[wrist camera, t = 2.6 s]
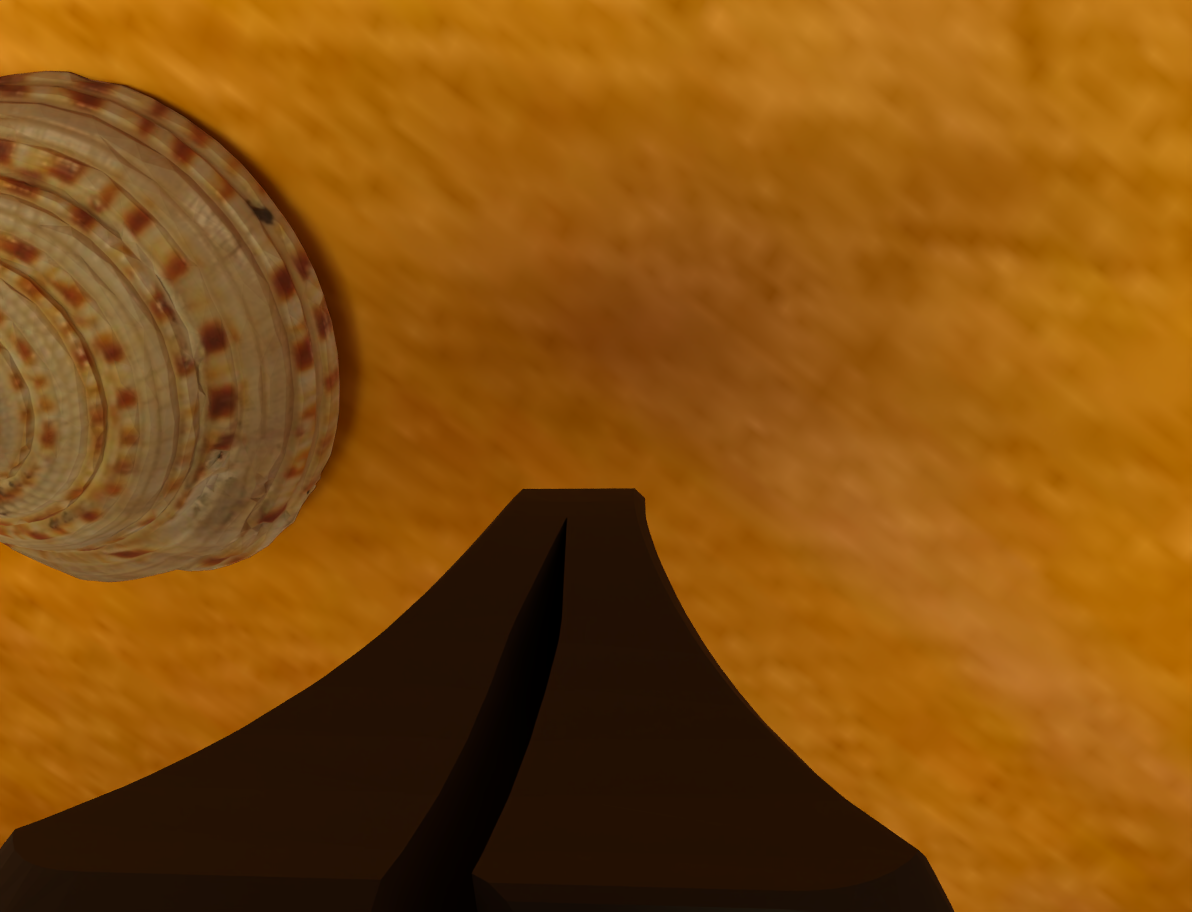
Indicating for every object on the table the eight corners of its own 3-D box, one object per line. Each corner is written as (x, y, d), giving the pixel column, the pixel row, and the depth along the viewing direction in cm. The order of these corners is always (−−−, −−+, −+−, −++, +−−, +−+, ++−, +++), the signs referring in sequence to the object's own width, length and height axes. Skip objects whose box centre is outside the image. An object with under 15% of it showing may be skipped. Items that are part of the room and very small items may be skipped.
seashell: (107, 692, 21) (-380, 483, 16) (144, 468, 25) (-239, 238, 19) (453, 490, 18) (9, 153, 13) (434, 273, 22) (84, -57, 17)
